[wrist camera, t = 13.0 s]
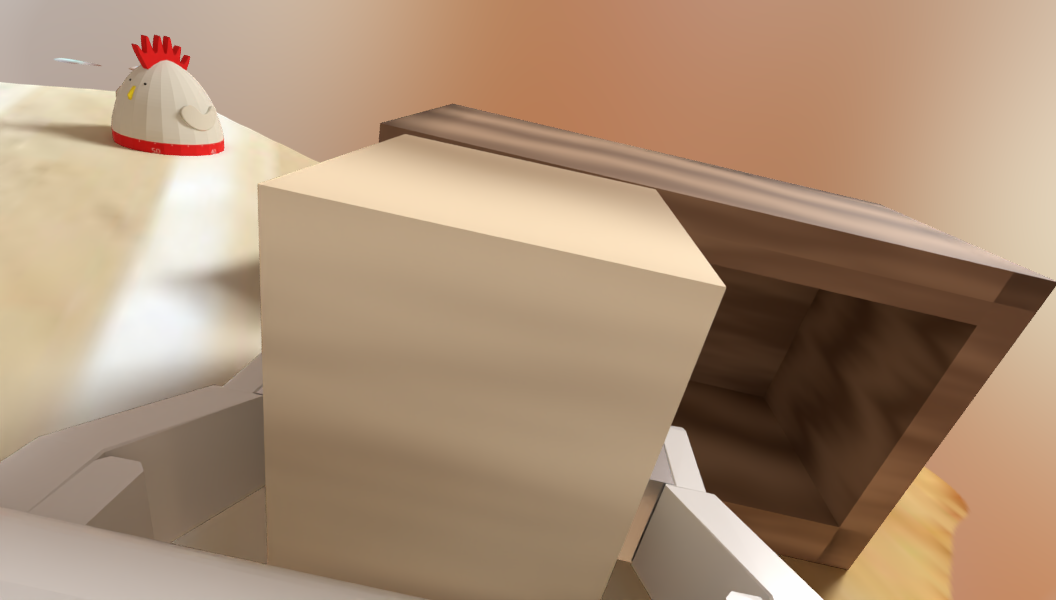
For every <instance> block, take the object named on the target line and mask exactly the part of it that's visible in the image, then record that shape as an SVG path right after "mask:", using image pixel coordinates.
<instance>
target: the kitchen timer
mask: <svg viewBox="0 0 1056 600" xmlns="http://www.w3.org/2000/svg"><path fill="white" fill-rule="evenodd" d="M141 46H142V50H141V49H140V48H139V46H138V45H136V44H132V47H133V50H134V52H135V54H136V56H137V58H138V60H139V61H140V63H141V65H140V66H138V67H137V68H136V69H134V70H133V71H132V72H131V73H130V74H129V75H128V77H127V78H126V79H125V80H124V82H123V84H122V85H121V86H120V87H119V88H118V89H117V91H116V101H115V105H114V109H113V114H112V122H111V126H112V134H113V139H114V141H115V142H116V143H118V144H119V145H121V146H124V147H127V148H131V149H134V150H139V151H144V152H149V153H157V154H164V155H179V156H201V155H212V154H217V153H220V152H222V151H224V136H223V131H222V127H221V124H220V121H219V118H218V116H217V113H216V108H215V107H214V106H213V104H212V102H211V100H210V98H209V96H208V95H207V93H206V92H205V90H204V89H203V88H202V86H201V85H200V84H199V83H198V82H197V80H196V79H195V78H194V77H193V76H191V74H189V73H188V72H187V71H186V70H187V67H188V64H189V60H190V56H187V55H184V56H183V58H182V60H181V62H180V54H181V47H179V46H174V47H173V49H172V44H171V40H170V37H167V36H164V37H163V45H162V42H161V38H160V36H157V35H154V38H153V49H152V46H151V44H150V41H149V38H148V37H147V36H144V35H141Z"/></svg>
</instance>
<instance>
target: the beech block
mask: <svg viewBox="0 0 1056 600" xmlns="http://www.w3.org/2000/svg"><path fill="white" fill-rule="evenodd" d="M258 222H259V260H260V298H261V336H262V375H263V413H264V451H265V489H266V527H267V565H272V566H277V567H281V568H286V569H290V570H295V571H300V572H304V573H309V574H314V575H318V576H323V577H327V578H332V579H337V580H341V581H346V582H351V583H355V584H360V585H364V586H369V587H374V588H378V589H383V590H387V591H392V592H397V593H401V594H406V595H411V596H415V597H420V598H424V599H429V600H601V598H602V596H603V593H604V591H605V588H606V586H607V583H608V581H609V578H610V576H611V573H612V571H613V568H614V566H615V563H616V561H617V558H618V556H619V553H620V551H621V549H622V546H623V544H624V541H625V539H626V536H627V534H628V531H629V529H630V526H631V524H632V521H633V519H634V516H635V514H636V511H637V509H638V506H639V504H640V501H641V499H642V496H643V494H644V491H645V489H646V486H647V484H648V481H649V479H650V476H651V474H652V471H653V469H654V466H655V464H656V461H657V459H658V456H659V454H660V451H661V449H662V447H663V444H664V442H665V439H666V437H667V434H668V432H669V429H670V427H671V424H672V422H673V419H674V417H675V414H676V412H677V409H678V407H679V404H680V402H681V399H682V397H683V394H684V392H685V389H686V387H687V384H688V382H689V379H690V377H691V374H692V372H693V369H694V367H695V364H696V362H697V359H698V357H699V354H700V352H701V349H702V347H703V344H704V342H705V340H706V337H707V335H708V332H709V330H710V327H711V325H712V322H713V320H714V317H715V315H716V312H717V310H718V307H719V305H720V302H721V300H722V297H723V295H724V292H725V290H726V286H725V284H724V283H723V282H722V280H721V279H720V278H719V276H718V275H717V273H716V272H715V271H714V269H713V268H712V266H711V265H710V264H709V262H708V261H707V260H706V258H705V257H704V255H703V254H702V253H701V251H700V250H699V249H698V247H697V246H696V244H695V243H694V242H693V240H692V239H691V237H690V236H689V235H688V233H687V232H686V231H685V229H684V228H683V226H682V225H681V224H680V222H679V221H678V219H677V218H676V217H675V215H674V214H673V213H672V211H671V210H670V208H669V207H668V206H667V204H666V203H665V202H664V200H663V199H662V197H661V196H660V195H659V193H658V192H657V190H656V189H652V188H647V187H642V186H638V185H633V184H629V183H624V182H620V181H615V180H611V179H606V178H602V177H597V176H593V175H588V174H584V173H579V172H575V171H570V170H566V169H561V168H557V167H552V166H548V165H543V164H539V163H534V162H530V161H525V160H520V159H516V158H511V157H507V156H502V155H498V154H493V153H489V152H484V151H480V150H475V149H471V148H466V147H462V146H457V145H453V144H448V143H444V142H439V141H435V140H430V139H426V138H421V137H417V136H412V135H408V134H404V135H401V136H398V137H395V138H392V139H389V140H386V141H383V142H380V143H377V144H374V145H371V146H368V147H365V148H362V149H360V150H357V151H354V152H351V153H348V154H345V155H342V156H339V157H336V158H333V159H330V160H327V161H324V162H321V163H318V164H315V165H312V166H309V167H306V168H303V169H300V170H297V171H294V172H291V173H288V174H285V175H282V176H279V177H276V178H273V179H270V180H267V181H264V182H262V183H259V184H258Z"/></svg>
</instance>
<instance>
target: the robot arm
mask: <svg viewBox="0 0 1056 600" xmlns="http://www.w3.org/2000/svg"><path fill="white" fill-rule="evenodd" d="M264 486H265V451H264V413H263V375H262V353H260V354H259V355H258V356H257V357H256V358H255V359H254V360H252V361H251V362H250V363H249V364H248V365H247V366H246V367H244V368H243V369H242V370H241V371H240V372H239V373H237V374H236V375H235V376H234V377H233V378H232V379H231V380H229V381H228V382H227V383H226V384H225V385H224V386H223V387H222V386H218V385H211V386H208V387H204V388H201V389H198V390H194V391H191V392H188V393H184V394H181V395H177V396H174V397H171V398H167V399H164V400H161V401H157V402H154V403H150V404H147V405H144V406H140V407H137V408H133V409H130V410H127V411H123V412H120V413H117V414H113V415H110V416H106V417H103V418H100V419H96V420H93V421H90V422H86V423H83V424H79V425H76V426H73V427H69V428H66V429H63V430H59V431H56V432H52V433H49V434H46V435H42V436H39V437H37V438H35V439H34V440H32V441H31V442H29V443H28V444H26V445H25V446H23V447H22V448H20V449H19V450H17V451H16V452H14V453H13V454H11V455H10V456H8V457H7V458H5V459H4V460H2V461H1V462H0V600H429V599H424V598H420V597H415V596H411V595H406V594H401V593H397V592H392V591H387V590H383V589H378V588H374V587H369V586H364V585H360V584H355V583H351V582H346V581H341V580H337V579H332V578H327V577H323V576H318V575H314V574H309V573H304V572H300V571H295V570H290V569H286V568H281V567H277V566H272V565H267V564H263V563H258V562H254V561H249V560H244V559H240V558H235V557H231V556H226V555H221V554H217V553H212V552H207V551H203V550H198V549H194V548H189V547H184V546H180V545H175V544H171V542H173V541H174V540H176V539H178V538H179V537H181V536H183V535H184V534H186V533H188V532H189V531H191V530H193V529H194V528H196V527H198V526H199V525H201V524H203V523H204V522H206V521H208V520H209V519H211V518H213V517H214V516H216V515H218V514H219V513H221V512H222V511H224V510H226V509H227V508H229V507H231V506H232V505H234V504H236V503H237V502H239V501H241V500H242V499H244V498H246V497H247V496H249V495H251V494H252V493H254V492H256V491H257V490H259V489H261V488H262V487H264ZM617 559H618V560H622V561H626V562H630V563H632V564H631V566H632V567H633V569H634V571H635V572H636V574H637V576H638V577H639V579H640V581H641V582H642V584H643V586H644V587H645V589H646V591H647V592H648V594H649V596H650V597H651V599H652V600H823V599H822V598H821V597H820V596H819V595H818V594H817V593H816V592H815V591H814V590H813V589H812V588H811V587H810V586H809V585H808V584H807V583H806V582H805V581H804V580H803V579H801V578H800V577H799V576H798V575H797V574H796V573H795V572H794V571H793V570H792V569H791V568H790V567H789V566H788V565H787V564H786V563H785V562H784V561H783V560H782V559H781V558H780V557H779V556H778V555H777V554H776V553H775V552H774V551H772V550H771V549H770V548H769V547H768V546H767V545H766V544H765V543H764V542H763V541H762V540H761V539H760V538H759V537H758V536H757V535H756V534H755V533H754V532H753V531H752V530H751V529H750V528H749V527H748V526H747V525H746V524H745V523H743V522H742V521H741V520H740V519H739V518H738V517H737V516H736V515H735V514H734V513H733V512H732V511H731V510H730V509H729V508H728V507H727V506H726V505H725V504H724V503H723V502H722V501H721V500H720V499H719V498H718V497H717V496H716V495H714V494H710V493H706V490H705V487H704V484H703V481H702V478H701V475H700V472H699V469H698V466H697V463H696V460H695V457H694V454H693V451H692V448H691V445H690V442H689V439H688V436H687V433H686V431H685V430H684V429H683V428H681V427H676V426H671V427H670V429H669V432H668V434H667V437H666V439H665V442H664V444H663V447H662V449H661V451H660V454H659V456H658V459H657V461H656V464H655V466H654V469H653V471H652V474H651V476H650V479H649V481H648V484H647V486H646V489H645V491H644V494H643V496H642V499H641V501H640V504H639V506H638V509H637V511H636V514H635V516H634V519H633V521H632V524H631V526H630V529H629V531H628V534H627V536H626V539H625V541H624V544H623V546H622V549H621V551H620V553H619V556H618V558H617Z"/></svg>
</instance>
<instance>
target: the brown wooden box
mask: <svg viewBox="0 0 1056 600" xmlns="http://www.w3.org/2000/svg"><path fill="white" fill-rule="evenodd" d="M404 134H408V135H412V136H417V137H421V138H426V139H430V140H435V141H439V142H444V143H448V144H453V145H457V146H462V147H466V148H471V149H475V150H480V151H484V152H489V153H493V154H498V155H502V156H507V157H511V158H516V159H520V160H525V161H530V162H534V163H539V164H543V165H548V166H552V167H557V168H561V169H566V170H570V171H575V172H579V173H584V174H588V175H593V176H597V177H602V178H606V179H611V180H615V181H620V182H624V183H629V184H633V185H638V186H642V187H647V188H652V189H656V190H657V192H658V193H659V195H660V196H661V197H662V199H663V200H664V202H665V203H666V204H667V206H668V207H669V208H670V210H671V211H672V213H673V214H674V215H675V217H676V218H677V219H678V221H679V222H680V224H681V225H682V226H683V228H684V229H685V231H686V232H687V233H688V235H689V236H690V237H691V239H692V240H693V242H694V243H695V244H696V246H697V247H698V249H699V250H700V251H701V253H702V254H703V255H704V257H705V258H706V260H707V261H708V262H709V264H710V265H711V266H712V268H713V269H714V271H715V272H716V273H717V275H718V276H719V278H720V279H721V280H722V282H723V283H724V284H725V286H726V290H725V292H724V295H723V297H722V300H721V302H720V305H719V307H718V310H717V312H716V315H715V317H714V320H713V322H712V325H711V327H710V330H709V332H708V335H707V337H706V340H705V342H704V344H703V347H702V349H701V352H700V354H699V357H698V359H697V362H696V364H695V367H694V369H693V372H692V374H691V377H690V379H689V382H688V384H687V387H686V389H685V392H684V394H683V397H682V399H681V402H680V404H679V407H678V409H677V412H676V414H675V417H674V419H673V422H672V424H671V426H676V427H681V428H683V429H684V430H685V431H686V433H687V436H688V439H689V442H690V445H691V448H692V451H693V454H694V457H695V460H696V463H697V466H698V469H699V472H700V475H701V478H702V481H703V484H704V487H705V490H706V493H710V494H714V495H716V496H717V497H718V498H719V499H720V500H721V501H722V502H723V503H724V504H725V505H726V506H727V507H728V508H729V509H730V510H731V511H732V512H733V513H734V514H735V515H736V516H737V517H738V518H739V519H740V520H741V521H742V522H743V523H745V524H746V525H747V526H748V527H749V528H750V529H751V530H752V531H753V532H754V533H755V534H756V535H757V536H758V537H759V538H760V539H761V540H762V541H763V542H764V543H765V544H766V545H767V546H768V547H769V548H770V549H771V550H772V551H774V552H775V553H776V554H781V555H785V556H789V557H794V558H798V559H803V560H807V561H811V562H816V563H820V564H825V565H829V566H834V567H838V568H842V569H847V570H848V569H849V568H850V567H851V565H852V564H853V563H854V561H855V560H856V558H857V557H858V556H859V554H860V553H861V552H862V550H863V549H864V548H865V546H866V545H867V543H868V542H869V541H870V539H871V538H872V537H873V535H874V534H875V532H876V531H877V530H878V528H879V527H880V526H881V524H882V523H883V522H884V520H885V519H886V517H887V516H888V515H889V513H890V512H891V511H892V509H893V508H894V507H895V505H896V504H897V502H898V501H899V500H900V498H901V497H902V496H903V494H904V493H905V491H906V490H907V489H908V487H909V486H910V485H911V483H912V482H913V481H914V479H915V478H916V476H917V475H918V474H919V472H920V471H921V470H922V468H923V467H924V466H925V464H926V462H927V461H928V460H929V459H930V457H931V456H932V454H933V453H934V452H935V450H936V449H937V448H938V446H939V445H940V444H941V442H942V441H943V440H944V438H945V437H946V435H947V434H948V433H949V431H950V430H951V428H952V427H953V426H954V425H955V423H956V422H957V420H958V419H959V418H960V416H961V415H962V414H963V412H964V411H965V409H966V408H967V407H968V405H969V404H970V402H971V401H972V400H973V399H974V397H975V396H976V394H977V393H978V392H979V390H980V389H981V388H982V386H983V385H984V384H985V382H986V381H987V379H988V378H989V377H990V375H991V374H992V372H993V371H994V370H995V368H996V367H997V366H998V364H999V363H1000V362H1001V360H1002V359H1003V358H1004V356H1005V355H1006V353H1007V352H1008V351H1009V349H1010V348H1011V347H1012V345H1013V344H1014V343H1015V341H1016V340H1017V338H1018V337H1019V336H1020V334H1021V333H1022V331H1023V330H1024V329H1025V327H1026V326H1027V325H1028V323H1029V322H1030V321H1031V319H1032V318H1033V317H1034V315H1035V314H1036V312H1037V311H1038V310H1039V308H1040V307H1041V306H1042V304H1043V303H1044V302H1045V300H1046V299H1047V297H1048V296H1049V295H1050V293H1051V292H1052V290H1053V289H1054V288H1055V286H1056V281H1054V280H1052V279H1050V278H1048V277H1045V276H1043V275H1040V274H1038V273H1036V272H1034V271H1031V270H1029V269H1027V268H1024V267H1022V266H1020V265H1018V264H1015V263H1013V262H1011V261H1008V260H1006V259H1004V258H1001V257H999V256H997V255H995V254H993V253H990V252H988V251H985V250H983V249H981V248H979V247H976V246H974V245H972V244H970V243H967V242H965V241H963V240H960V239H958V238H956V237H954V236H951V235H949V234H947V233H944V232H942V231H940V230H937V229H935V228H933V227H931V226H928V225H926V224H924V223H922V222H919V221H917V220H915V219H912V218H910V217H908V216H906V215H903V214H901V213H898V212H896V211H894V210H892V209H889V208H887V207H885V206H883V205H880V204H876V203H872V202H868V201H863V200H859V199H855V198H851V197H846V196H843V195H838V194H834V193H830V192H826V191H821V190H817V189H813V188H809V187H804V186H800V185H796V184H792V183H787V182H783V181H778V180H775V179H770V178H766V177H762V176H758V175H753V174H749V173H745V172H741V171H736V170H732V169H728V168H724V167H719V166H715V165H711V164H706V163H702V162H698V161H693V160H689V159H685V158H681V157H677V156H673V155H668V154H664V153H660V152H656V151H651V150H647V149H643V148H639V147H634V146H630V145H626V144H622V143H617V142H613V141H609V140H604V139H600V138H596V137H592V136H587V135H583V134H579V133H575V132H571V131H566V130H562V129H558V128H554V127H549V126H545V125H541V124H537V123H532V122H528V121H524V120H520V119H515V118H511V117H507V116H503V115H499V114H494V113H490V112H486V111H482V110H477V109H473V108H469V107H464V106H460V105H456V104H450V105H446V106H443V107H440V108H435V109H432V110H428V111H424V112H420V113H417V114H413V115H410V116H406V117H402V118H398V119H395V120H391V121H387V122H383V123H381V124H380V134H379V143H380V142H383V141H386V140H389V139H392V138H395V137H398V136H401V135H404Z"/></svg>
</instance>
